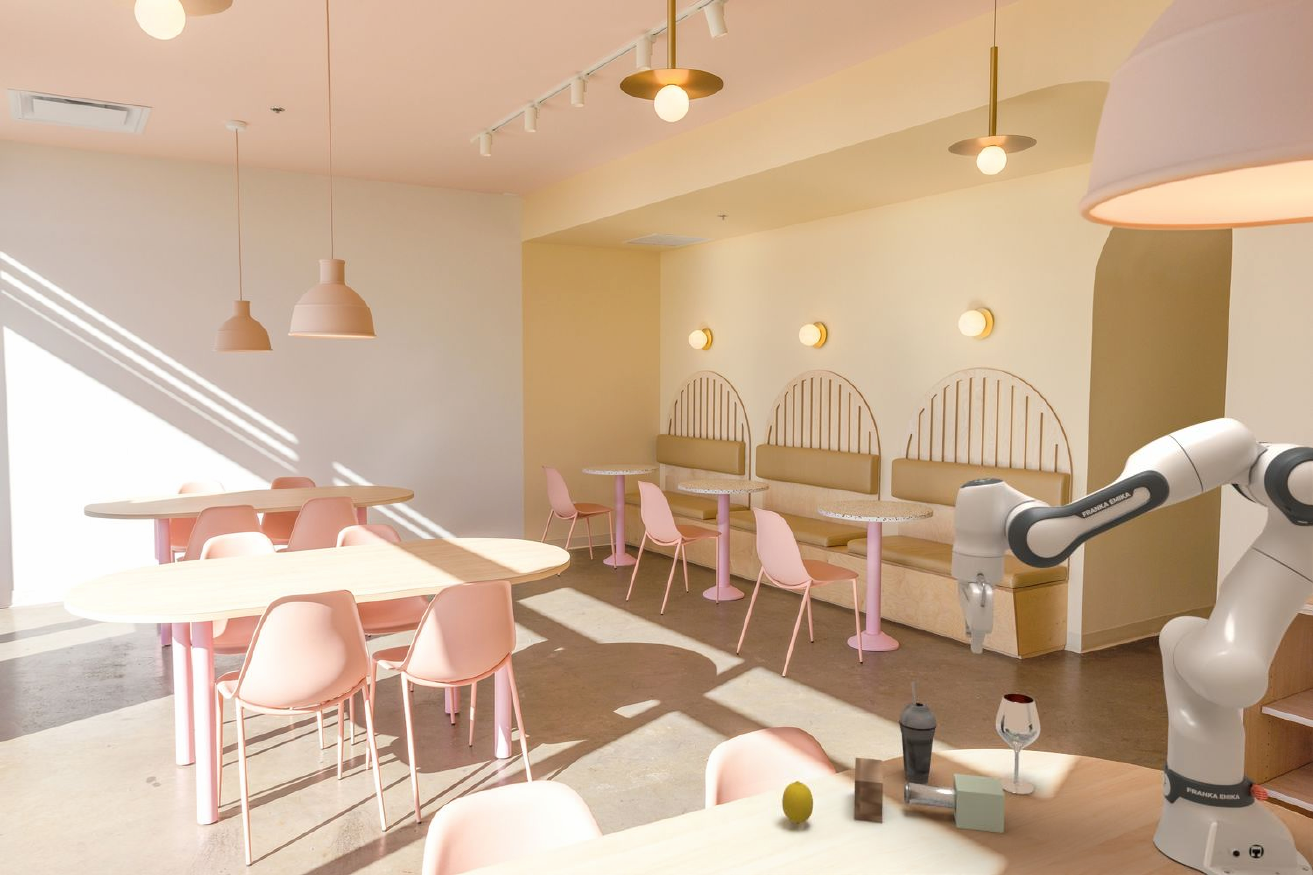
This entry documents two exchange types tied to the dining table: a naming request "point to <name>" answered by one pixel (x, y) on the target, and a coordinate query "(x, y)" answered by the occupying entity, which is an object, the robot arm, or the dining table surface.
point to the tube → (930, 795)
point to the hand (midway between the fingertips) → (973, 644)
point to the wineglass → (1017, 733)
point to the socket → (868, 790)
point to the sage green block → (979, 803)
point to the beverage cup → (917, 740)
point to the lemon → (797, 802)
